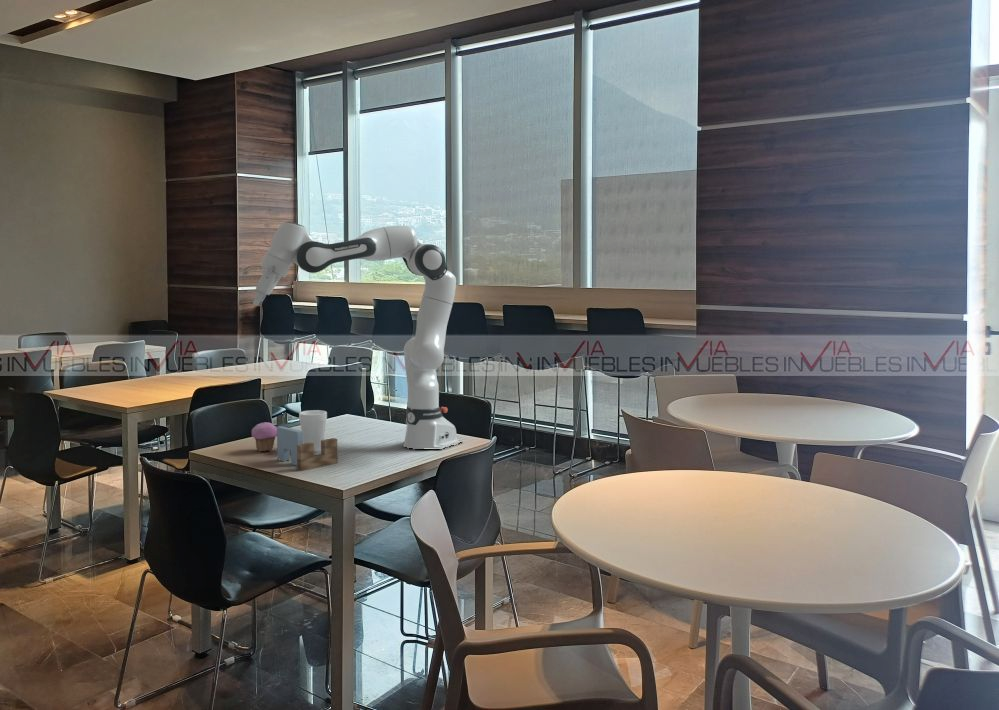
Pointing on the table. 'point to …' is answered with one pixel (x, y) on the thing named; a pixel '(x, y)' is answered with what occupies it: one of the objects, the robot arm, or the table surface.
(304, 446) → the notched wood cradle
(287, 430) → the pale blue arch brick
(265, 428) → the cupcake
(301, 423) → the foam cup
